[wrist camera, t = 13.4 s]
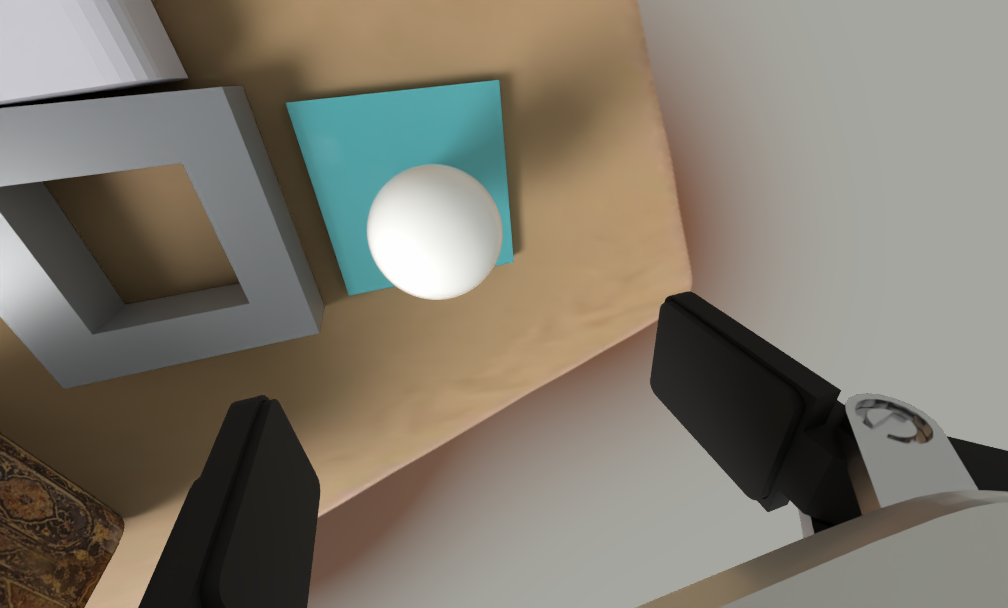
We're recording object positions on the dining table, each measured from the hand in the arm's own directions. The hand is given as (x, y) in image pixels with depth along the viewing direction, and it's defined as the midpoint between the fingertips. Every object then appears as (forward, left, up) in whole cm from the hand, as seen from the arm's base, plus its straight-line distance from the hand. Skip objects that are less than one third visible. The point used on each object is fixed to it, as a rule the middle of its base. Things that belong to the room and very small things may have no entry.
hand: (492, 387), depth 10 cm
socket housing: (0, -15, -20) cm, 25 cm away
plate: (0, 0, -20) cm, 20 cm away
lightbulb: (0, 0, -19) cm, 19 cm away
